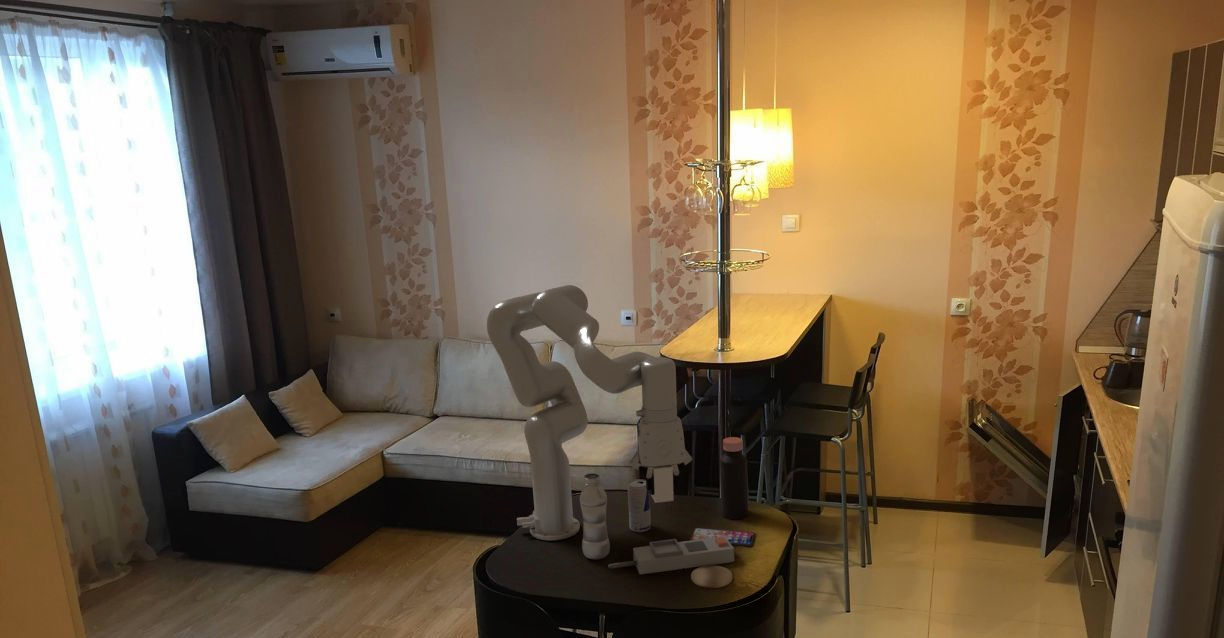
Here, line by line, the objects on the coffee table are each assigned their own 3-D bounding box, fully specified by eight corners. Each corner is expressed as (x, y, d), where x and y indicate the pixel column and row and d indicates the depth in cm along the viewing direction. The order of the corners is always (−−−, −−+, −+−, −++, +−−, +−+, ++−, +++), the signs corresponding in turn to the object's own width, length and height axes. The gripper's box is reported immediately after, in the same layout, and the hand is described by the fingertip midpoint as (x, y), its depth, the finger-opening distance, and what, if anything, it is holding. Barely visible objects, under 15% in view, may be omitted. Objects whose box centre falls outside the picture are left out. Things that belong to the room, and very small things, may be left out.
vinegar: (727, 507, 220) (725, 434, 216) (752, 511, 216) (750, 437, 212) (717, 517, 214) (714, 442, 210) (742, 521, 211) (740, 446, 207)
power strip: (611, 578, 186) (610, 560, 185) (606, 564, 192) (605, 547, 192) (734, 561, 191) (733, 544, 190) (725, 548, 197) (725, 532, 196)
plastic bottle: (596, 547, 201) (591, 468, 197) (616, 555, 196) (611, 475, 193) (576, 557, 197) (571, 476, 193) (596, 566, 192) (591, 483, 188)
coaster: (697, 590, 179) (697, 588, 179) (686, 570, 188) (686, 568, 187) (737, 584, 180) (737, 582, 180) (725, 565, 189) (725, 563, 189)
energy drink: (654, 526, 211) (652, 481, 209) (644, 534, 207) (641, 488, 204) (636, 522, 214) (634, 477, 212) (625, 530, 209) (623, 485, 207)
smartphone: (694, 527, 208) (755, 532, 204) (695, 530, 208) (755, 535, 204) (688, 540, 201) (751, 545, 197) (689, 544, 201) (751, 549, 197)
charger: (655, 502, 186) (654, 468, 185) (651, 495, 190) (650, 461, 189) (673, 500, 187) (672, 466, 185) (669, 493, 191) (668, 459, 189)
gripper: (625, 422, 180) (628, 502, 183) (701, 415, 182) (702, 494, 186) (619, 412, 187) (622, 489, 191) (692, 405, 190) (693, 481, 193)
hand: (661, 490), depth 188 cm, fingers closed on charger, 4 cm apart
